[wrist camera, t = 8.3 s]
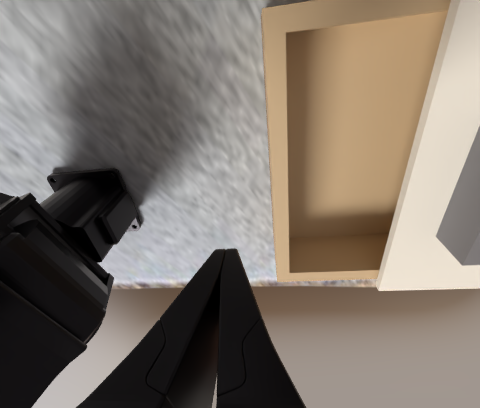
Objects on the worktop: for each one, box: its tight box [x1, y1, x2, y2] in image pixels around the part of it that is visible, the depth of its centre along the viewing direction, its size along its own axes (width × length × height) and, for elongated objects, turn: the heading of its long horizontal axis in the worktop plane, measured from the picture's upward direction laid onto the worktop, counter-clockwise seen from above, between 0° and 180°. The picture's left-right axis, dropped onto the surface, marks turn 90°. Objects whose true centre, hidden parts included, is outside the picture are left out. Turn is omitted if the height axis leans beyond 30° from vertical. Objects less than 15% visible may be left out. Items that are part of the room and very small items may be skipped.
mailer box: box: [261, 0, 451, 282], centre depth 17 cm, size 14×18×5 cm
